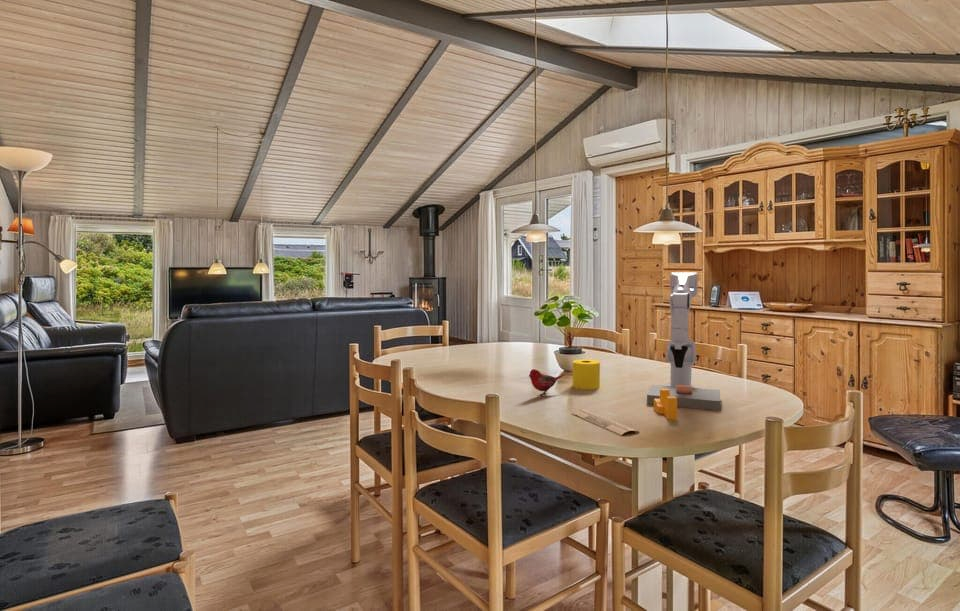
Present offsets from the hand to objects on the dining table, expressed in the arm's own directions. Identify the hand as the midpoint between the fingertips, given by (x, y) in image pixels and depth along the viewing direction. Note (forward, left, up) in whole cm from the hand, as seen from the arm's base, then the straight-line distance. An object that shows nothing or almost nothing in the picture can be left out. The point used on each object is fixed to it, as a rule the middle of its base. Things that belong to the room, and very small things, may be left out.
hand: (678, 367), depth 183 cm
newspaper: (+40, -19, -11) cm, 45 cm away
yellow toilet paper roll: (-5, -33, -11) cm, 35 cm away
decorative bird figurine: (+13, -43, -11) cm, 46 cm away
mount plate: (+5, +2, -10) cm, 12 cm away
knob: (+5, +2, -10) cm, 11 cm away
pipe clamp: (+22, -3, -11) cm, 25 cm away
